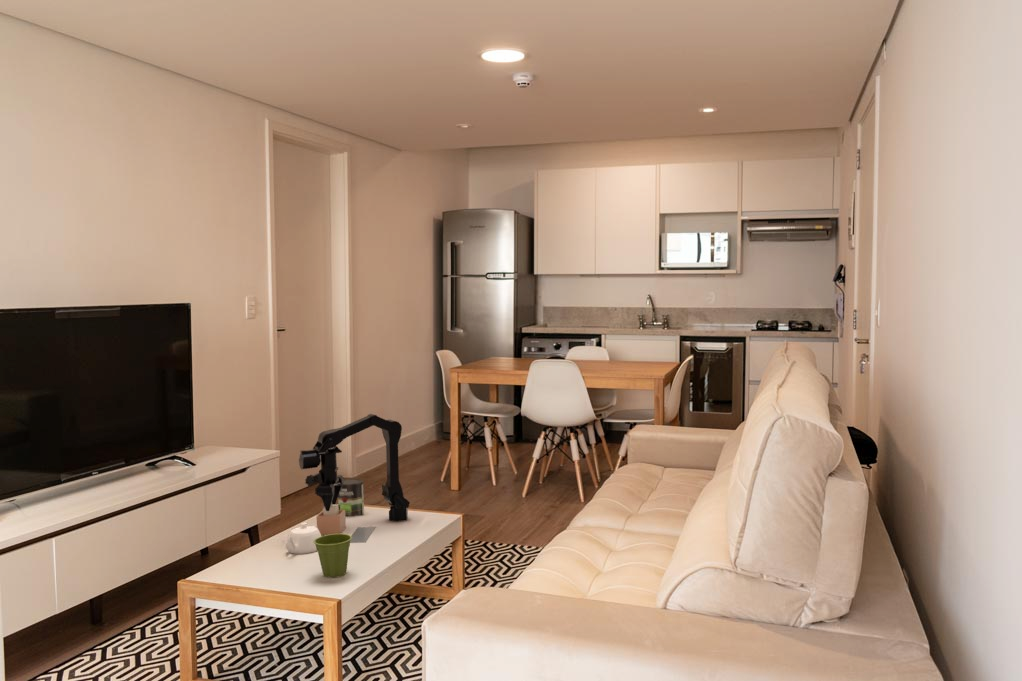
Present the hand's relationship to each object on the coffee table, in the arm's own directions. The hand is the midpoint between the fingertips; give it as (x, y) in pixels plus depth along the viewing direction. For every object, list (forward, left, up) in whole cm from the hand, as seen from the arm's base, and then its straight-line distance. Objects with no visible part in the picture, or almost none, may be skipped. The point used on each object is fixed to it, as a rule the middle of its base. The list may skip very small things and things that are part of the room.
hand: (330, 507), depth 295 cm
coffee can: (-2, -25, -10) cm, 27 cm away
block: (0, 0, -4) cm, 4 cm away
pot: (0, 0, -10) cm, 10 cm away
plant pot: (-12, +44, -10) cm, 47 cm away
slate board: (-12, +6, -10) cm, 17 cm away
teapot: (+4, +21, -10) cm, 24 cm away
